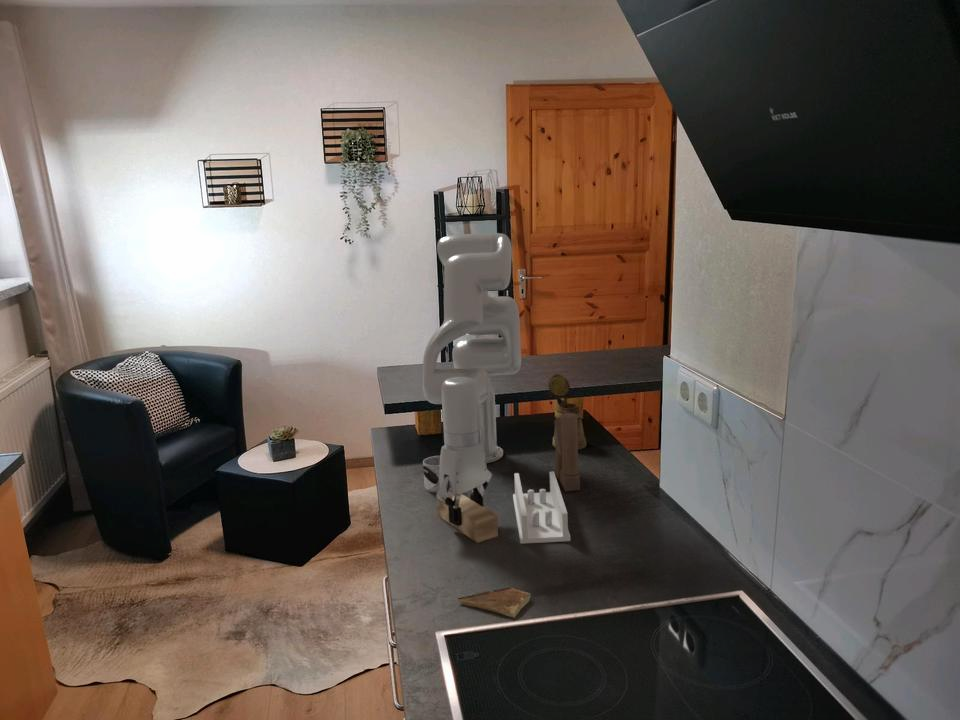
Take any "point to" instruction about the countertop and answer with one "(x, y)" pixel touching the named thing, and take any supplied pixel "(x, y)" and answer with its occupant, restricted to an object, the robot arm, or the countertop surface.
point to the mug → (431, 474)
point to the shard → (499, 601)
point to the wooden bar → (472, 519)
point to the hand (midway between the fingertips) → (466, 517)
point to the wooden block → (567, 451)
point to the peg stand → (541, 513)
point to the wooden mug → (566, 405)
